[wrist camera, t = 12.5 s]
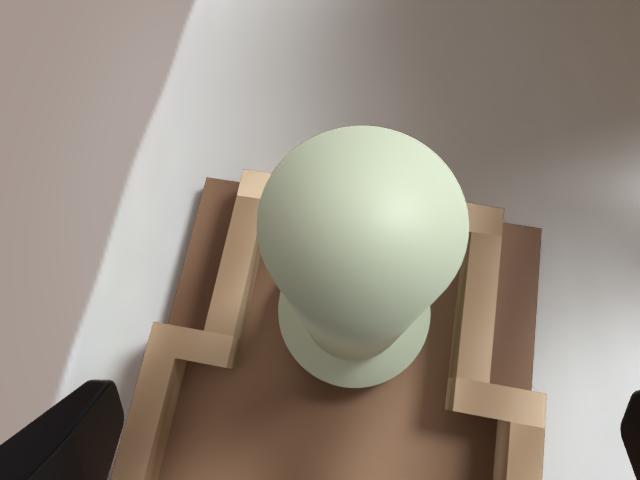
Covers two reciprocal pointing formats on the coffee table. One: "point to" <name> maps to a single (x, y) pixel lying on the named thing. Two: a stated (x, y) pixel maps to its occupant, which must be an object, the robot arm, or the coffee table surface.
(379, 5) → the coffee table surface
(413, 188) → the sage peg
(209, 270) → the keyhole board
